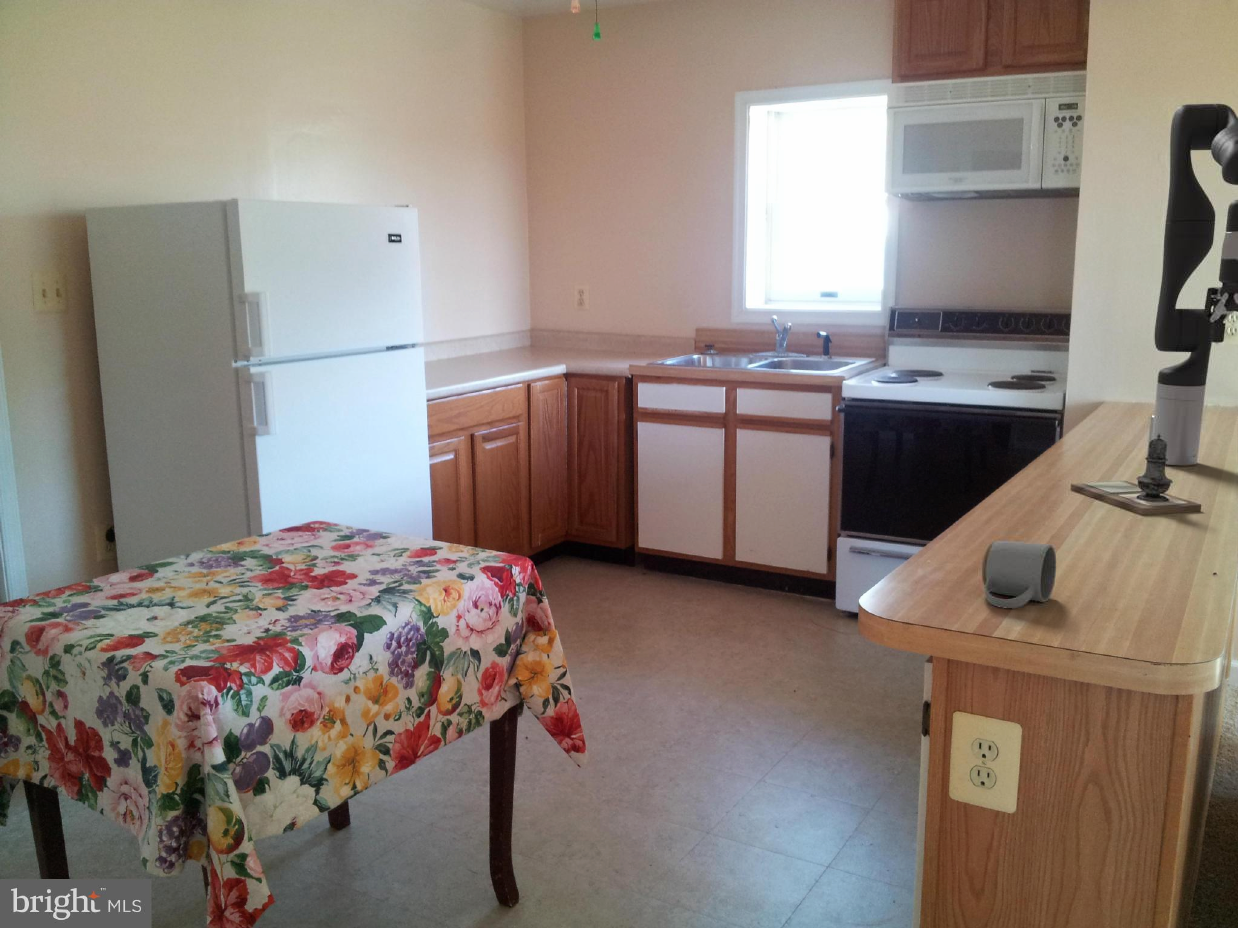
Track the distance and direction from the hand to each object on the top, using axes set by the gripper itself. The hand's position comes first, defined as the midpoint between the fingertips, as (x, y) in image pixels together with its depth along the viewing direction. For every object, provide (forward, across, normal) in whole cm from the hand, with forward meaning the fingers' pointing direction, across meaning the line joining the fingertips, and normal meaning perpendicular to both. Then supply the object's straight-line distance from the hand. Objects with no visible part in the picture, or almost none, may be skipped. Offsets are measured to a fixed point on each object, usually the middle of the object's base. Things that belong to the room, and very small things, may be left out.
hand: (1234, 344), depth 194 cm
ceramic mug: (+28, -48, +75) cm, 93 cm away
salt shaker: (+27, -9, +22) cm, 36 cm away
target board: (+28, -4, +22) cm, 36 cm away
